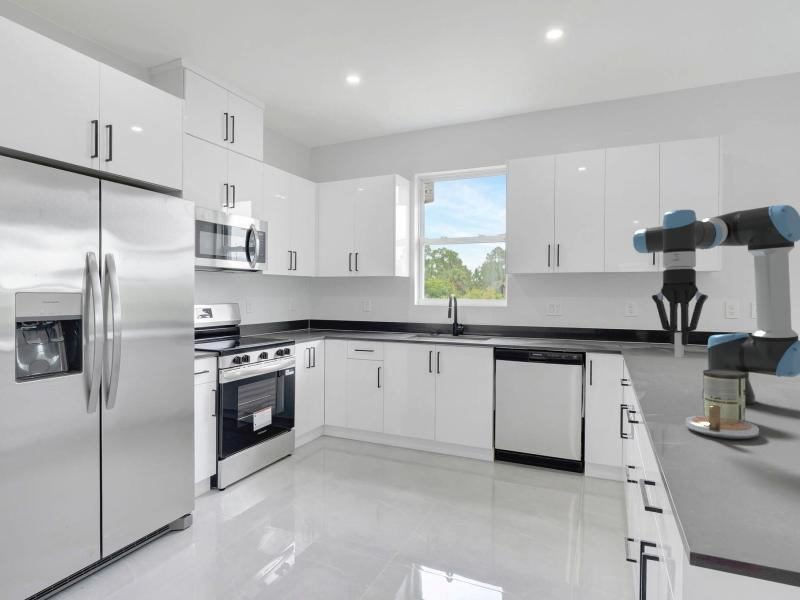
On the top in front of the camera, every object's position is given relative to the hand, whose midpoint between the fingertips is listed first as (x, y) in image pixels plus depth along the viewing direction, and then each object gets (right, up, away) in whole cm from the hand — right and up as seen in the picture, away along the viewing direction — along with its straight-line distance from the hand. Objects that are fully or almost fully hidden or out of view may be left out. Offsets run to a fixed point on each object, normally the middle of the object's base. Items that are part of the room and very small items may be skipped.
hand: (679, 357), depth 123 cm
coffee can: (+21, -20, +13) cm, 32 cm away
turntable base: (+11, -20, 0) cm, 23 cm away
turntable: (+11, -19, -1) cm, 22 cm away
